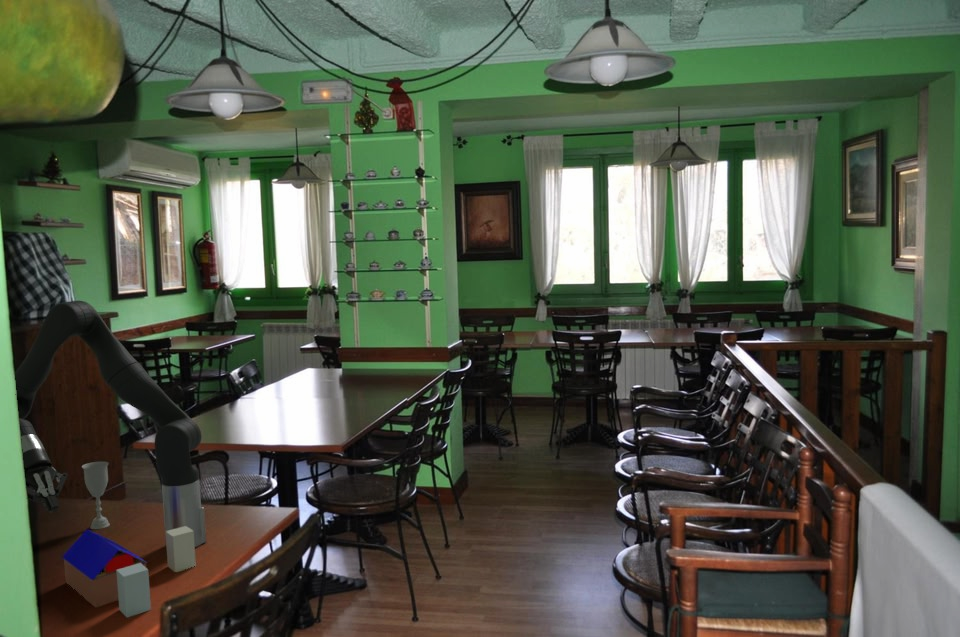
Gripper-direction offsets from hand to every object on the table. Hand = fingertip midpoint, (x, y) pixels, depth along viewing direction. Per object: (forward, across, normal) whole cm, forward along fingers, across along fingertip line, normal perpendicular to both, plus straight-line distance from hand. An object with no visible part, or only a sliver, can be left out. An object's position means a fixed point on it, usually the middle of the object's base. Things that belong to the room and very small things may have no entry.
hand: (54, 510), depth 189 cm
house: (+28, 0, -8) cm, 29 cm away
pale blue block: (+40, -2, -20) cm, 45 cm away
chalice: (-3, +19, +22) cm, 29 cm away
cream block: (+30, +16, -11) cm, 36 cm away
